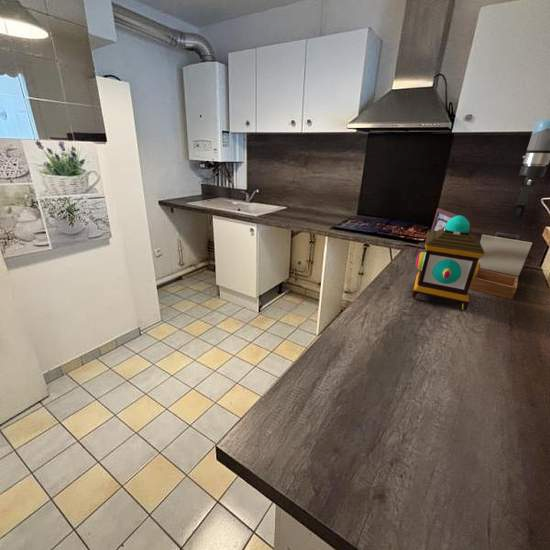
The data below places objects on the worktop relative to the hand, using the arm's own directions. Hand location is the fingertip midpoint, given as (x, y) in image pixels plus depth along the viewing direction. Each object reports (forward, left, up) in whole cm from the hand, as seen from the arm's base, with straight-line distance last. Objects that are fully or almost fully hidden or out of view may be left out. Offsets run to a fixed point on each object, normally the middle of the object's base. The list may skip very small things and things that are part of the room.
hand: (515, 221), depth 118 cm
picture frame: (+22, -1, -25) cm, 33 cm away
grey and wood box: (+1, +11, -12) cm, 16 cm away
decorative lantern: (+15, +38, -25) cm, 48 cm away
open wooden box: (+1, +16, -25) cm, 29 cm away
